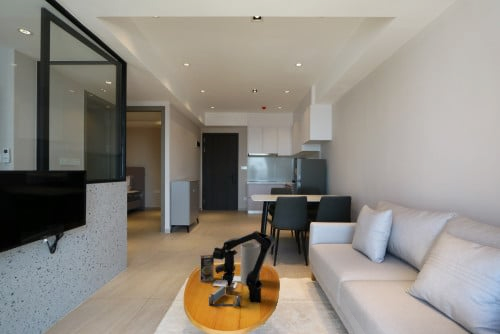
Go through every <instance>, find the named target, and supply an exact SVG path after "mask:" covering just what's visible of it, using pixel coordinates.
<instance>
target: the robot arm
mask: <svg viewBox="0 0 500 334" xmlns="http://www.w3.org/2000/svg"><path fill="white" fill-rule="evenodd" d="M252 240H255V241H256V242H257V244H258V243H259V244H260V250H259V256H258V259H257V261H256V264H255V267H254V269H253V271H251V272H250V273H248V275H247V279H246V285H245V286H247V288H248V298H249V299H248V300H249V303H262V287H263V283H262V281H261V280H260V277H261V275H260V273H261V271H262V268H263V265H264V264H265V263H264V262H265V260H266V258H267V255H268V253H269V251H270V250H271V249H272V247H273V245H274V244H275V241H276V240H275V238H274V236H273V235H270V234H269V235H268V234H265V233H263V232H260V231H258V230H255V231H252V232H250V233H248V234H245V235H243V236H240V237H235V238H229V239H228V240H226V241H224V242H223V246H222V247H215V248H214V250H213V252H212V255H213V258H214V260H220V261H223V260H224V263H222V264H218V265H216V266H215V268H214V270H215V273H216V274H220V273H223V274H222V277H221V280H222V281H227V282H226V284H228V286H229V287H230V285H231V284H233V281H234V277H235V271H236V264H235V255H237V254H238V251H237V250H236V249H234V248H236V247H238V246H239V245H240V246H241V244H244V243H249V241H252Z"/></svg>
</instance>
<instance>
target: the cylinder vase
mask: <svg viewBox="0 0 500 334" xmlns="http://www.w3.org/2000/svg"><path fill="white" fill-rule="evenodd" d="M259 244H260V243H259ZM259 244H258V243H256V242H245V243H242V244H240V283H241V284H242V285H244V286H247V285H246V279H247V275H248V273H250V272H251V271H253V269H254V267H255V264H256V261H257V259H258V256H259V254H260V245H259Z"/></svg>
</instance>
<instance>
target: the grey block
mask: <svg viewBox="0 0 500 334" xmlns="http://www.w3.org/2000/svg"><path fill="white" fill-rule="evenodd" d="M212 294H213V303H215V302H217V301H218V300H219V299H221V298H222V297H223V296H224V295H226V285H221V287H220V288H218V289H217V290H216V291H214V292H213V293H212Z"/></svg>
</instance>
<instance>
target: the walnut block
mask: <svg viewBox="0 0 500 334" xmlns="http://www.w3.org/2000/svg"><path fill="white" fill-rule="evenodd" d="M234 291H235V289H234V283H231V285H230V287H229V286H228V283H225V295H234Z"/></svg>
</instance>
